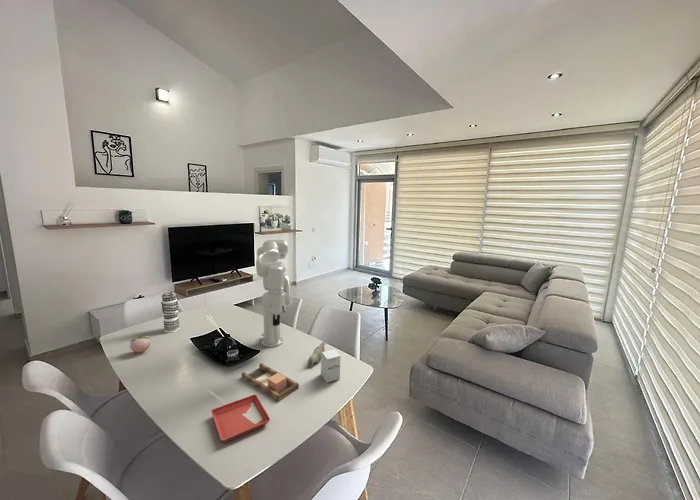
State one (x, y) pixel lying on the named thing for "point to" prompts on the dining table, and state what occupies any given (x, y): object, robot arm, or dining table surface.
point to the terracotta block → (277, 382)
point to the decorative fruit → (140, 344)
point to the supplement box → (330, 365)
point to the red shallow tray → (237, 418)
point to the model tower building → (170, 312)
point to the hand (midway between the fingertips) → (276, 324)
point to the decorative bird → (316, 355)
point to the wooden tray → (261, 381)
